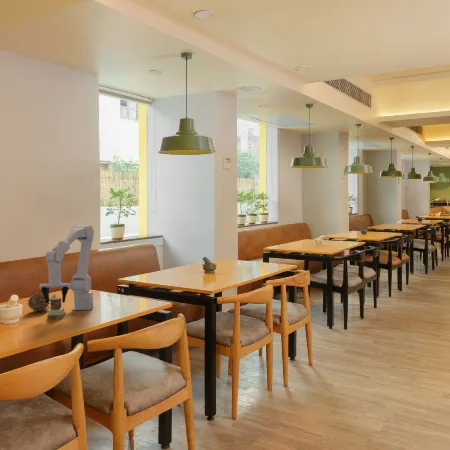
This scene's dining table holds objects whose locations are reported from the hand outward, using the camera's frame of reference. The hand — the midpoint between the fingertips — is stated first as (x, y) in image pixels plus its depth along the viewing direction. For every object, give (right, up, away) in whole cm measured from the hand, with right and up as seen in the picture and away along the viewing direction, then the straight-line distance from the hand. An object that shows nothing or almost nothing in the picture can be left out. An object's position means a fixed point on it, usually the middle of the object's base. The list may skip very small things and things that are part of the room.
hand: (55, 302), depth 237 cm
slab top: (0, -6, +1) cm, 6 cm away
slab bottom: (0, -8, +1) cm, 8 cm away
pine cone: (-13, -7, +18) cm, 23 cm away
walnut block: (0, -3, 0) cm, 3 cm away
